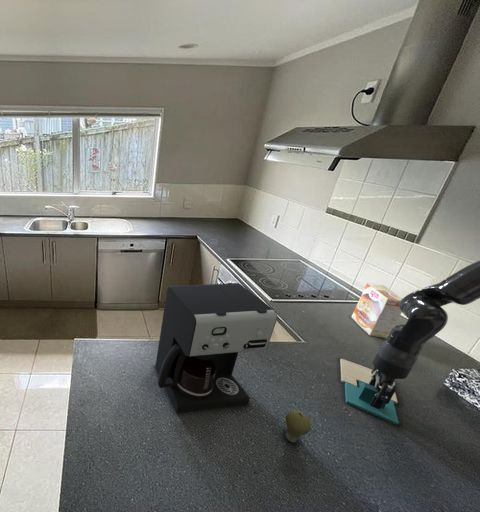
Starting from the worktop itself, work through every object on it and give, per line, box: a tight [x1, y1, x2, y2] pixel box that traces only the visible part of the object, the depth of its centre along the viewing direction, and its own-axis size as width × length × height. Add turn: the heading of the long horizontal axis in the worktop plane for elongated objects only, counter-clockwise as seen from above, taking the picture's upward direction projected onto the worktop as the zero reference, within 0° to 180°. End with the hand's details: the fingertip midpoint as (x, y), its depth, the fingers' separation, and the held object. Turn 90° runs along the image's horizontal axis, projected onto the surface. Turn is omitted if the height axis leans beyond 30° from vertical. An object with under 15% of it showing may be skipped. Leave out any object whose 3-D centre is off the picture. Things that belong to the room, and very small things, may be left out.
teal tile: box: [344, 381, 400, 426], centre depth 90 cm, size 12×14×6 cm
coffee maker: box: [154, 282, 278, 414], centre depth 87 cm, size 28×20×35 cm
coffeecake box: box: [351, 282, 403, 339], centre depth 126 cm, size 15×7×20 cm, turn 164°
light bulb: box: [285, 409, 312, 443], centre depth 76 cm, size 6×6×10 cm
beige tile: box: [339, 358, 399, 405], centre depth 99 cm, size 14×14×2 cm
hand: (372, 397), depth 89 cm, fingers open, 8 cm apart
